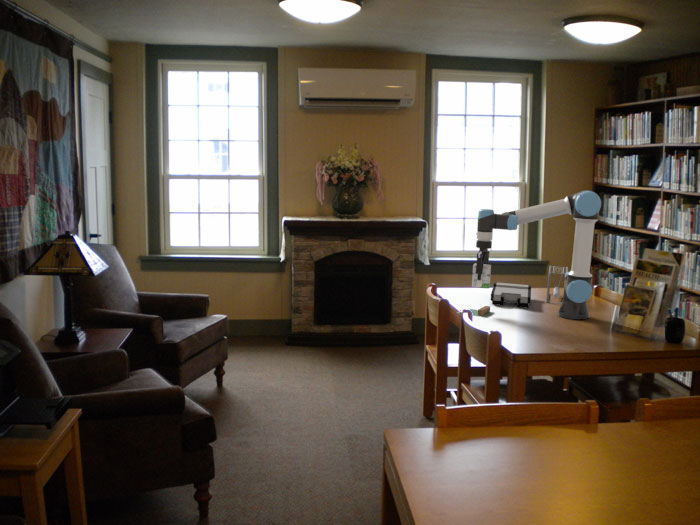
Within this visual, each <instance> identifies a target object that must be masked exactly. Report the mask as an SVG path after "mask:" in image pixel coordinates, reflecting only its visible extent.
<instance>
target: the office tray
mask: <svg viewBox="0 0 700 525" xmlns="http://www.w3.org/2000/svg"><path fill="white" fill-rule="evenodd" d="M531 298H532V285H531V284H518V283H505V282H497V281H496V282H495V281H494V282H493V287H492V290H491V293H490V301H491V304H492V306H504V304H505V303H509V304H510V303H512V304H516V308H525V307H527V308H526V309H528V308H529V305H531V302H532V301H531Z"/></svg>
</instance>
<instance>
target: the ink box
mask: <svg viewBox="0 0 700 525" xmlns="http://www.w3.org/2000/svg"><path fill="white" fill-rule="evenodd" d="M476 263H477V262H476ZM476 263H474V264H473V265H472V276H471V278H472V279H471V287H472V288H479V289H490V287H491V272H492V270H491V269H492V264H484V265H483V271H482V274H483V279H482V287H478V286H476V284H477V274H476V273H475V272H476Z"/></svg>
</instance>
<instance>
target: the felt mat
mask: <svg viewBox="0 0 700 525" xmlns="http://www.w3.org/2000/svg"><path fill="white" fill-rule="evenodd" d="M469 309H470V310H471V311H472V313H473V315H472V317H473V316H474V317H482V318H488V317H490V316H491V315H493V314H495V313H496V312H493V311H490V312H489V313H488V314H486V315H484V316H478V310H479V309H473V308H469ZM461 310H462V309H460V310H459V311H461ZM459 311H457V312H455V313H456V314H460V312H459Z"/></svg>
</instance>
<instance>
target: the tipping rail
mask: <svg viewBox="0 0 700 525" xmlns="http://www.w3.org/2000/svg"><path fill="white" fill-rule="evenodd" d="M477 310H478V316H477V317H480V316H484V315H486V314H488V313H489V312H491V306H489V305H484V306H482V307H481V308H479V309H477Z"/></svg>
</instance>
